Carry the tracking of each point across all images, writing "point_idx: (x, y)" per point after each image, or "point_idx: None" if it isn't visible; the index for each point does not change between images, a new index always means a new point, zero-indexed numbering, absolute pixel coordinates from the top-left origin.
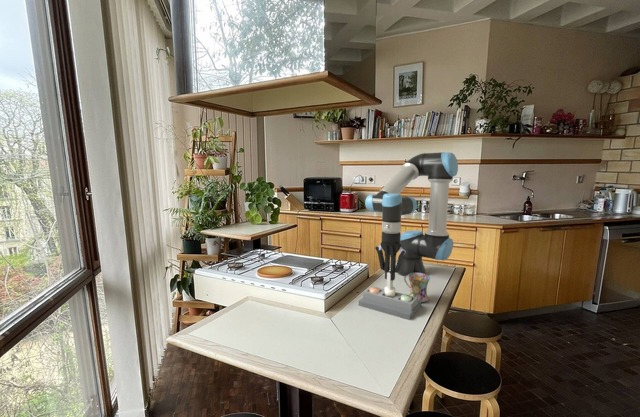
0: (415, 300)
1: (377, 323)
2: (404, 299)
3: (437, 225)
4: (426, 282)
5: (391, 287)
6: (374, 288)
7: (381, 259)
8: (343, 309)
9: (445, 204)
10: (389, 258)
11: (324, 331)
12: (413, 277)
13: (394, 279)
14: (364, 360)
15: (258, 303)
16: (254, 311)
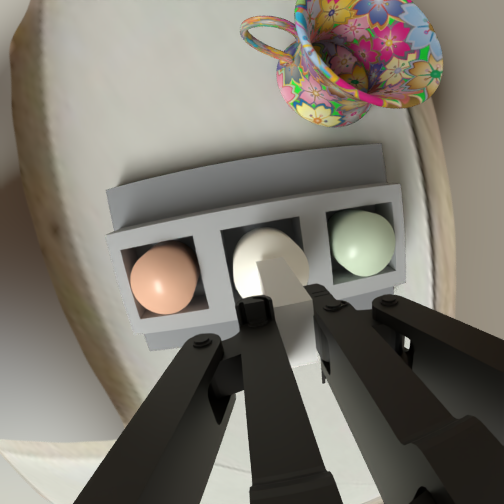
0: (401, 222)
1: (304, 393)
2: (369, 273)
3: None
4: (426, 70)
5: (273, 256)
6: (154, 276)
7: (205, 485)
8: (146, 396)
9: None
10: (311, 438)
11: (217, 485)
12: (311, 15)
13: (319, 285)
14: (352, 480)
15: (20, 457)
16: (52, 482)
